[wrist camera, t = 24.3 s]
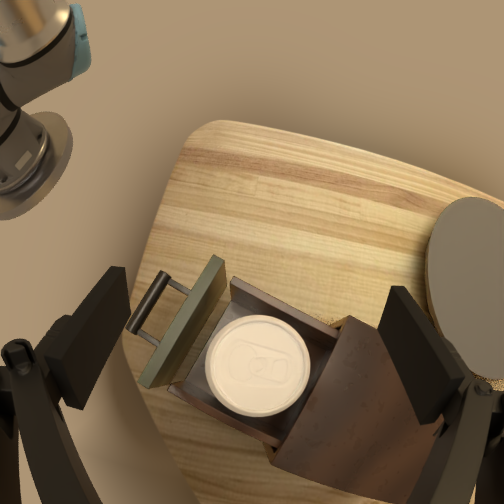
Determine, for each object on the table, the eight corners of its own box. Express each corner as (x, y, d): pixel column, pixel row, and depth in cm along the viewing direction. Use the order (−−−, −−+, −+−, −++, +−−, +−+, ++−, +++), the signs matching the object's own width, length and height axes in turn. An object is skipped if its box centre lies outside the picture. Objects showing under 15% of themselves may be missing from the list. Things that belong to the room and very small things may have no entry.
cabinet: (260, 438, 32) (270, 464, 22) (319, 329, 37) (349, 314, 27) (376, 481, 30) (417, 508, 20) (425, 381, 35) (476, 379, 25)
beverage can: (222, 323, 35) (215, 302, 23) (294, 337, 34) (322, 321, 23) (208, 394, 32) (193, 407, 20) (281, 407, 31) (303, 426, 20)
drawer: (127, 357, 34) (96, 352, 25) (185, 261, 38) (171, 231, 30) (281, 443, 31) (295, 465, 23) (335, 341, 35) (363, 332, 27)
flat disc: (396, 367, 35) (413, 366, 31) (415, 187, 45) (428, 171, 41) (522, 386, 34) (540, 384, 30) (525, 238, 44) (540, 229, 39)
